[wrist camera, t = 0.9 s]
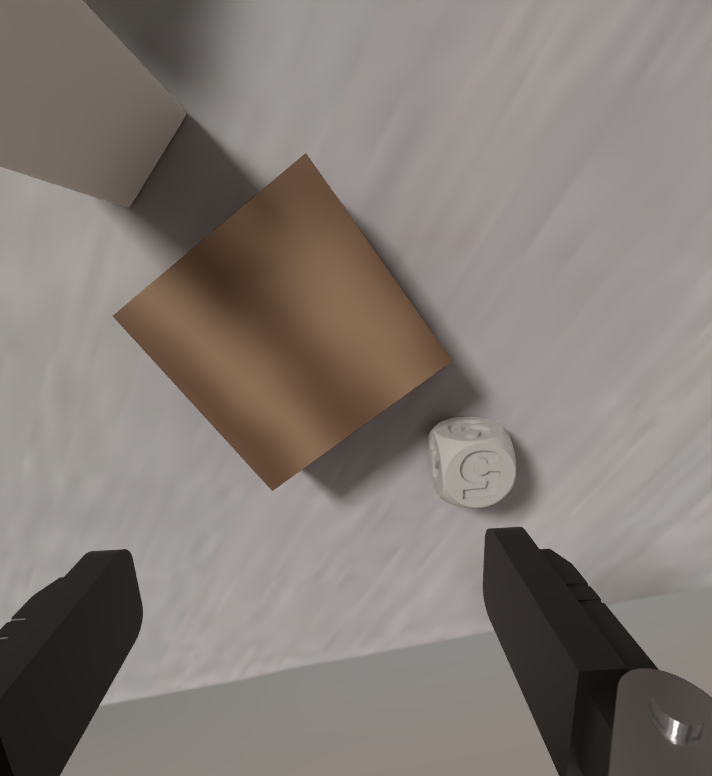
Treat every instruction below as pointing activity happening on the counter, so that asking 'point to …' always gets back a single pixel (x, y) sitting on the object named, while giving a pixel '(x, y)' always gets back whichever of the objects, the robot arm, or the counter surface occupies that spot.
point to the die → (471, 461)
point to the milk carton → (78, 102)
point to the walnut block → (285, 327)
